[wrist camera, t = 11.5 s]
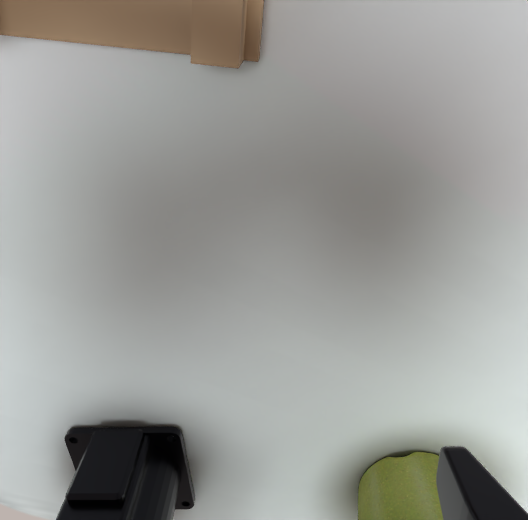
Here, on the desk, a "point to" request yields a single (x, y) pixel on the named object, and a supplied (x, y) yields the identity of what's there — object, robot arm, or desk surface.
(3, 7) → the cradle
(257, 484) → the desk surface
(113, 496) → the robot arm
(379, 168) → the desk surface
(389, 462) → the plant pot
